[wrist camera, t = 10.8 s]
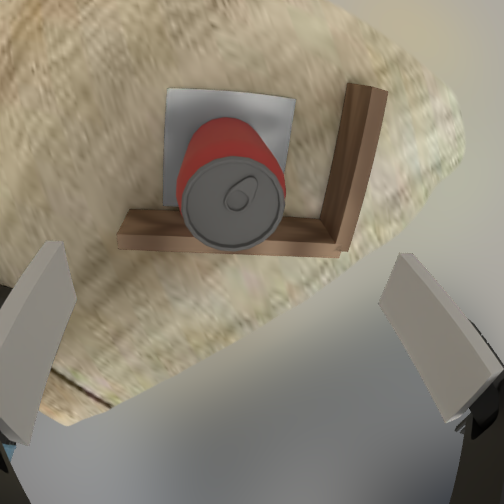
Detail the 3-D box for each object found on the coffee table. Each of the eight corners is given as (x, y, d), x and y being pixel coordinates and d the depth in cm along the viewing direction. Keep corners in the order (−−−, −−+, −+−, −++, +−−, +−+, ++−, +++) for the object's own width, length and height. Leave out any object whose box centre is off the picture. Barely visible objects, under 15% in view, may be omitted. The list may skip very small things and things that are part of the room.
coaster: (163, 203, 29) (163, 205, 28) (168, 88, 23) (167, 88, 23) (276, 209, 31) (277, 211, 30) (294, 98, 25) (296, 99, 24)
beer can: (277, 143, 26) (318, 192, 16) (234, 199, 29) (247, 277, 19) (215, 102, 24) (215, 121, 14) (173, 163, 26) (149, 225, 16)
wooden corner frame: (130, 222, 29) (118, 249, 25) (131, 61, 21) (114, 59, 17) (329, 232, 33) (345, 258, 29) (361, 86, 25) (388, 91, 20)
